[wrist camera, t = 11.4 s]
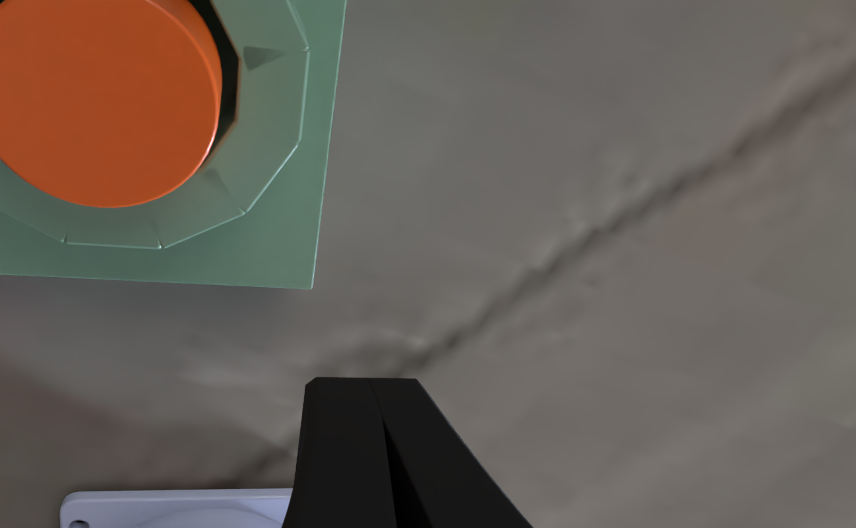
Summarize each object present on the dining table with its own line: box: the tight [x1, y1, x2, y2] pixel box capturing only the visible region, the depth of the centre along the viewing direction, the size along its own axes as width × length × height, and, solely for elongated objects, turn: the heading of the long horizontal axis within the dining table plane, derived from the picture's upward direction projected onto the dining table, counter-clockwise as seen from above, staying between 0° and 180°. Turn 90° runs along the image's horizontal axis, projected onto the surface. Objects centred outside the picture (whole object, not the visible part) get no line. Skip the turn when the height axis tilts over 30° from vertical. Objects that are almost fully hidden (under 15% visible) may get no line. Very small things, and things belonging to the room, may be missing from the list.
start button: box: [0, 0, 222, 208], centre depth 13 cm, size 4×4×2 cm
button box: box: [0, 0, 347, 289], centre depth 15 cm, size 10×8×4 cm
